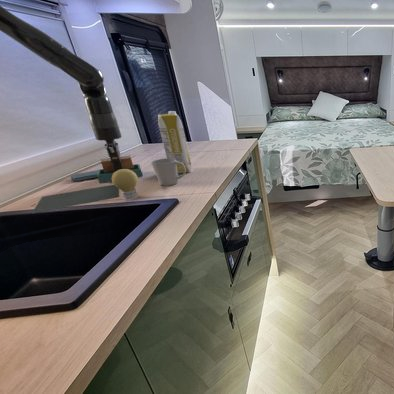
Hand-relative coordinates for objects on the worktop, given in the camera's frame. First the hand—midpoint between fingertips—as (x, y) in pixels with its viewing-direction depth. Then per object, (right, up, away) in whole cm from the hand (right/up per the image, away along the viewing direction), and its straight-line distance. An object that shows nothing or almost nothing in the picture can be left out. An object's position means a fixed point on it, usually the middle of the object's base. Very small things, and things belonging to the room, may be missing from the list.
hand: (119, 170), depth 112 cm
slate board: (+2, -11, -18) cm, 21 cm away
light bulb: (+19, -11, -19) cm, 30 cm away
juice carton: (+19, 0, +9) cm, 21 cm away
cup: (+24, -5, -5) cm, 25 cm away
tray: (0, -3, +1) cm, 3 cm away
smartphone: (-12, -2, +4) cm, 13 cm away
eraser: (0, 0, 0) cm, 0 cm away
